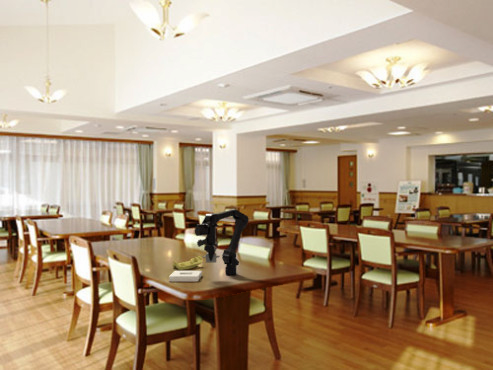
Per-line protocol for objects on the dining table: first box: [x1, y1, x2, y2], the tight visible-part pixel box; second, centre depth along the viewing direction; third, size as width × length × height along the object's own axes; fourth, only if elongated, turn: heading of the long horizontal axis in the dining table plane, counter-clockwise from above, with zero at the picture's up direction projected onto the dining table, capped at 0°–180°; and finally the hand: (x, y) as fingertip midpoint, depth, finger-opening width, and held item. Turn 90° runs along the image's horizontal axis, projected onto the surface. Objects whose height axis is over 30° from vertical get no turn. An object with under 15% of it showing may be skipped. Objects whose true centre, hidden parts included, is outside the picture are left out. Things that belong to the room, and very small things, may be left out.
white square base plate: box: [168, 270, 203, 282], centre depth 253 cm, size 17×16×3 cm
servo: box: [202, 251, 220, 264], centre depth 253 cm, size 10×4×6 cm, turn 88°
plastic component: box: [172, 255, 204, 271], centre depth 287 cm, size 20×7×10 cm
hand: (211, 260), depth 253 cm, fingers closed on servo, 4 cm apart
